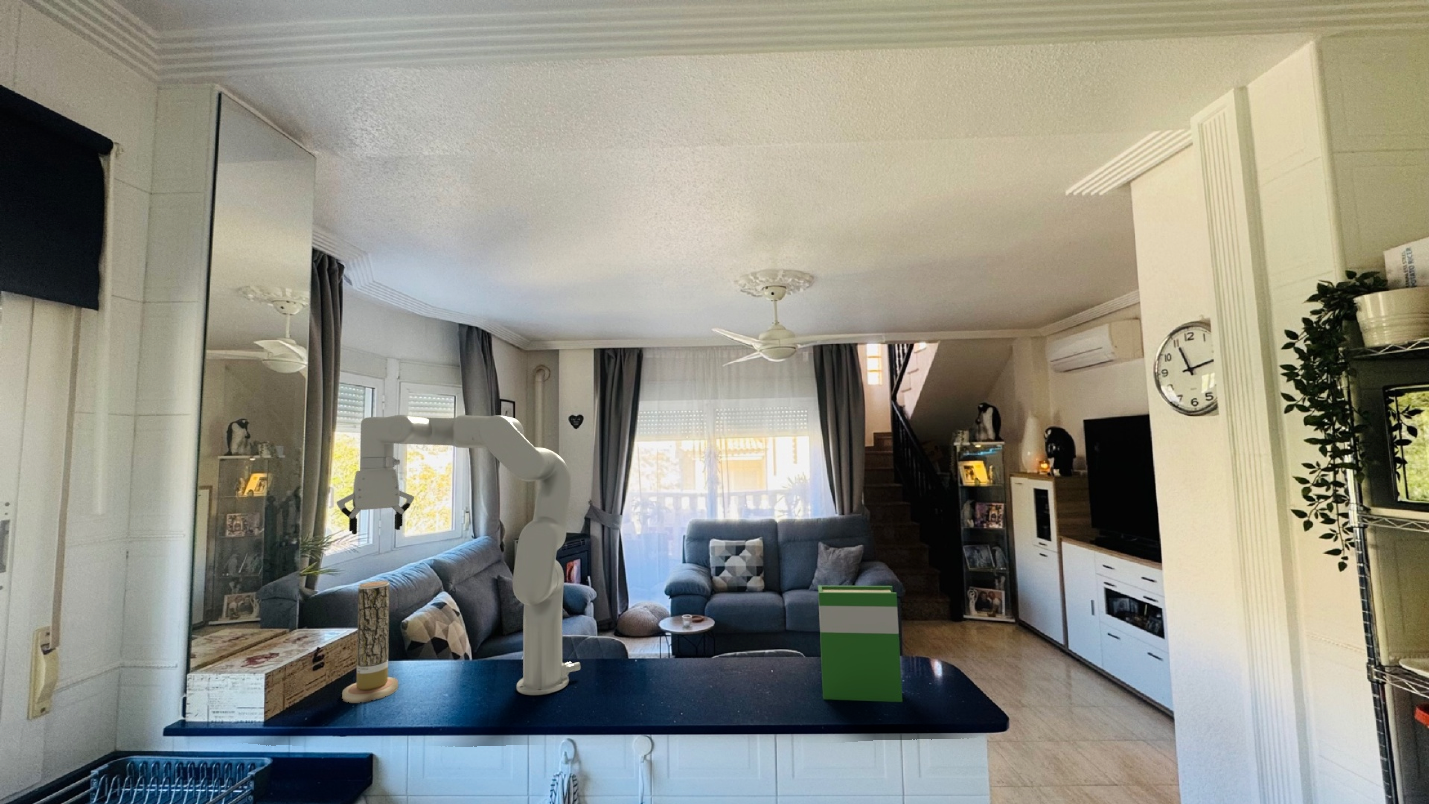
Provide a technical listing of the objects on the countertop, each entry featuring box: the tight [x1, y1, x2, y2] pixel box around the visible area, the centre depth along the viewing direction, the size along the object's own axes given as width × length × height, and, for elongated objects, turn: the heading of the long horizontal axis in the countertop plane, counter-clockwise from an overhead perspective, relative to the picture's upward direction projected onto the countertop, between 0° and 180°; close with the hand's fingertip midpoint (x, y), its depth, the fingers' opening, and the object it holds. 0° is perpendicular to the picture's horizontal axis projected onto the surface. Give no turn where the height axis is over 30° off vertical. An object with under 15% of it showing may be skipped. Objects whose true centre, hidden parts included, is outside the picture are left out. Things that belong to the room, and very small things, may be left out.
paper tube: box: [355, 580, 390, 690], centre depth 146 cm, size 7×7×25 cm
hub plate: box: [341, 676, 399, 704], centre depth 145 cm, size 12×12×2 cm
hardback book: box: [817, 585, 903, 703], centre depth 137 cm, size 18×7×24 cm, turn 81°
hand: (376, 531), depth 148 cm, fingers open, 9 cm apart
